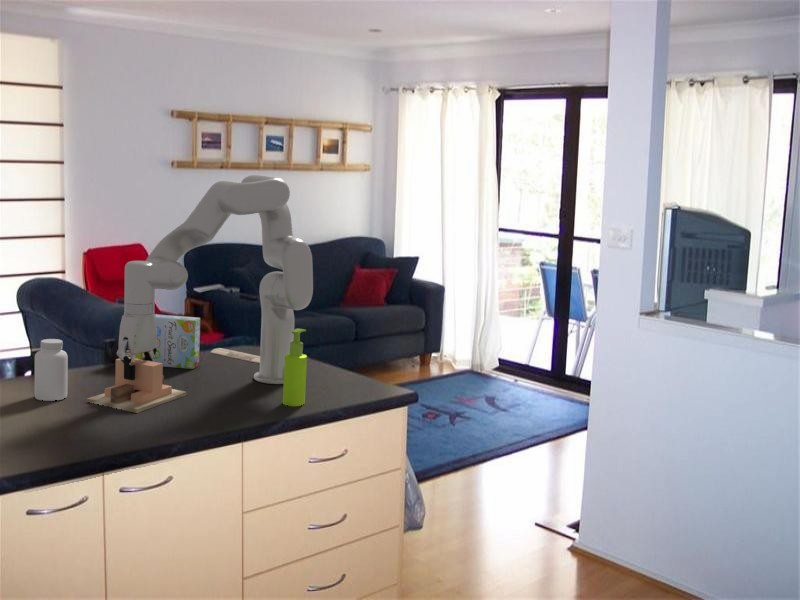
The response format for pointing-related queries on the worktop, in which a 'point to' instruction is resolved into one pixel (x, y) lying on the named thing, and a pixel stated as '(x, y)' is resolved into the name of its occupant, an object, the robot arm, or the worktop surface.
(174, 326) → the snack box
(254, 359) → the newspaper
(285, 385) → the soap dispenser
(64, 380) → the pill bottle
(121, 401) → the base
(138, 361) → the cross plate
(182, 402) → the worktop surface
